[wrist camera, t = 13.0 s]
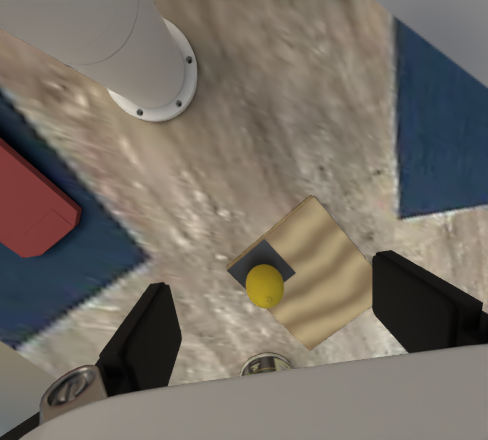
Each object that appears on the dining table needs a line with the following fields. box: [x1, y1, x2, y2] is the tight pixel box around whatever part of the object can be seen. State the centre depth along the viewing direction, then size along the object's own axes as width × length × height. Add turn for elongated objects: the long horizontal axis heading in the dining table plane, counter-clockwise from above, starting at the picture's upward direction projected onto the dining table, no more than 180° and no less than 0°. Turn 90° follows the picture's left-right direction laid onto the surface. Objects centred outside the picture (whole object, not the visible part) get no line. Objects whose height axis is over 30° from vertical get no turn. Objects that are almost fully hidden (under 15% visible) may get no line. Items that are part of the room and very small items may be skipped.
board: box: [227, 195, 372, 351], centre depth 39 cm, size 22×18×2 cm
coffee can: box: [241, 353, 292, 376], centre depth 37 cm, size 10×10×14 cm
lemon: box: [246, 264, 284, 308], centre depth 33 cm, size 6×6×8 cm
